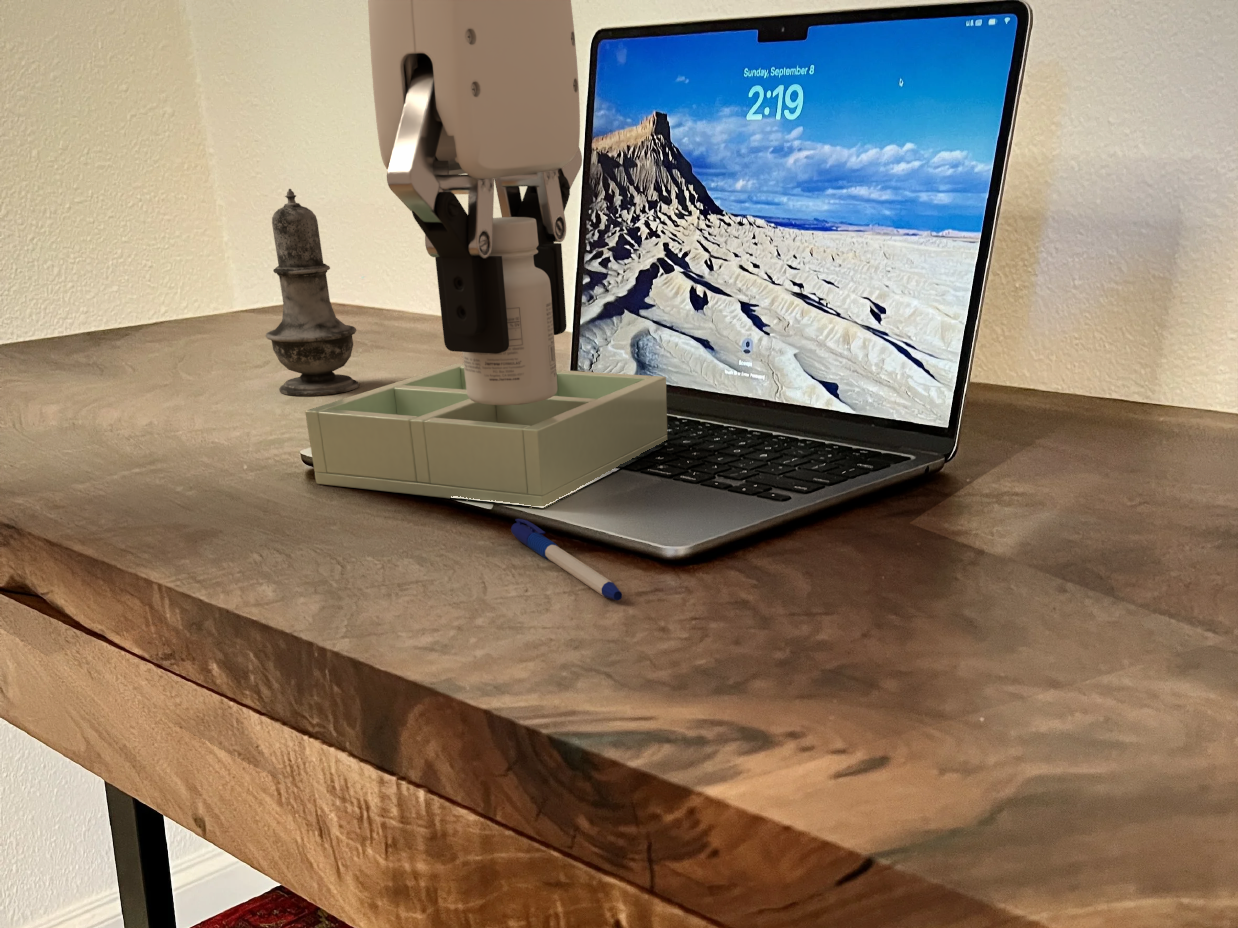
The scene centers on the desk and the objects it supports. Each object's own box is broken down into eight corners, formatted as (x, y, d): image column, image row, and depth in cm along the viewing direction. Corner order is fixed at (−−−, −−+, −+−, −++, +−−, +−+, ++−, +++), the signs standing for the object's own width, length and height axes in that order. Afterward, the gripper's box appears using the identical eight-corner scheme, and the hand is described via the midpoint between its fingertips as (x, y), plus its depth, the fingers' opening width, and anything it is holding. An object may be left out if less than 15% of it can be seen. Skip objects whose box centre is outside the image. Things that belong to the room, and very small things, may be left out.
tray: (315, 484, 68) (304, 410, 66) (462, 428, 78) (455, 363, 76) (543, 509, 63) (537, 430, 61) (668, 445, 73) (666, 376, 71)
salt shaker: (381, 383, 91) (356, 185, 85) (319, 399, 87) (288, 192, 81) (319, 377, 94) (290, 185, 88) (256, 392, 90) (221, 191, 83)
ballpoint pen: (504, 538, 59) (503, 515, 58) (523, 535, 59) (521, 512, 59) (611, 606, 51) (610, 580, 50) (632, 602, 51) (631, 577, 51)
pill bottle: (518, 384, 67) (505, 214, 63) (576, 395, 65) (566, 217, 61) (448, 399, 65) (429, 222, 61) (505, 411, 62) (490, 226, 58)
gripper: (499, -110, 62) (531, 313, 71) (255, -153, 49) (332, 370, 58) (644, -125, 59) (657, 318, 68) (423, -175, 46) (477, 379, 55)
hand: (507, 337), depth 63 cm, fingers closed on pill bottle, 4 cm apart
